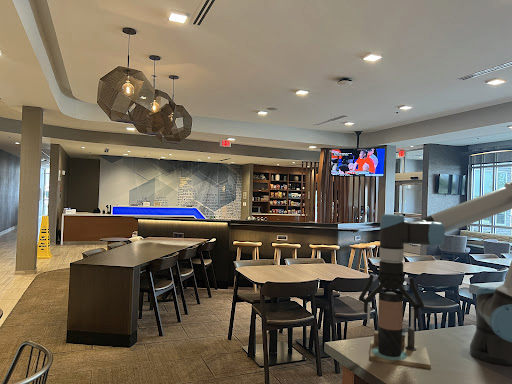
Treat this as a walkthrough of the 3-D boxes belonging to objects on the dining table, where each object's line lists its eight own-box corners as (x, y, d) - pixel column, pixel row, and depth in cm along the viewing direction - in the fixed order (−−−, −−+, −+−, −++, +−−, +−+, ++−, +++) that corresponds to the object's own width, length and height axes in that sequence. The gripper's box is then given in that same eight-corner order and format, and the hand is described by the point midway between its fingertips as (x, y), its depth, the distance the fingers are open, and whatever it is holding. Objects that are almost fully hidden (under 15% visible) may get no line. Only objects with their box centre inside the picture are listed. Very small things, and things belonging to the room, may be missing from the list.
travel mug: (403, 358, 126) (404, 295, 126) (378, 356, 127) (379, 293, 128) (400, 349, 133) (401, 290, 134) (376, 347, 135) (377, 288, 135)
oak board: (425, 350, 137) (425, 326, 137) (430, 368, 122) (431, 341, 122) (371, 343, 143) (371, 320, 143) (369, 359, 127) (370, 334, 128)
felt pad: (406, 350, 134) (406, 349, 134) (408, 362, 123) (408, 361, 123) (372, 345, 137) (372, 344, 137) (371, 357, 127) (371, 356, 127)
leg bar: (405, 344, 137) (405, 332, 137) (405, 347, 134) (405, 335, 134) (374, 340, 141) (374, 328, 141) (373, 343, 138) (374, 331, 138)
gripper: (431, 262, 131) (429, 326, 130) (353, 256, 138) (352, 317, 138) (433, 265, 123) (432, 334, 123) (351, 259, 131) (350, 324, 131)
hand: (390, 325), depth 130 cm, fingers open, 13 cm apart
